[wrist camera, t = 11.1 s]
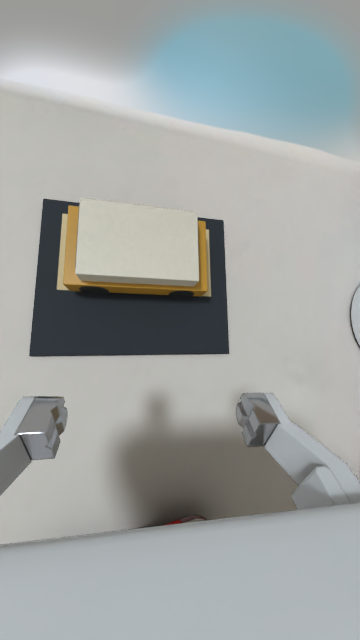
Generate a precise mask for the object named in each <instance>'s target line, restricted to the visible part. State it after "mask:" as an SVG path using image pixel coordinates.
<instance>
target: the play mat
mask: <svg viewBox="0 0 360 640" xmlns="http://www.w3.org/2000/svg"><path fill="white" fill-rule="evenodd" d="M79 204H80V203H74V202H66V201H58V200H49V199H43V210H42V221H41V232H40V243H39V254H38V265H37V277H36V288H35V299H34V310H33V321H32V332H31V343H30V355H29V356H76V355H154V354H229V342H228V319H227V296H226V273H225V249H224V226H223V220H215V219H206V218H198V221H205V223H206V255H207V288H208V291H207V292H206V293H205V294H204V295H202V296H201V297H199V296H190V297H183V298H179V297H172V296H169V295H153V294H130V293H106V294H91V293H86V292H82V291H70V290H69V289H68V288H67V287H65V286H64V285H63V276H64V261H65V247H66V233H67V219H68V206H69V205H70V206H79Z"/></svg>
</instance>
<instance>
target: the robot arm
mask: <svg viewBox="0 0 360 640" xmlns="http://www.w3.org/2000/svg"><path fill="white" fill-rule="evenodd" d="M351 321H352V327H353V331H354V334H355V337H356V340H357V342H358V344H359V346H360V286H359V287H358V289H357V290H356V292H355V295H354V297H353V301H352V306H351ZM240 399H241V402H240V403H238V404H237V407H236V417H237V421H238V424H239V425H240V426H241V427H243V431H242V435H243V437H244V440H245V443H246V445H247V447H258V446H264V448H265V449H266V450H267V451H268V452H269V453H270V455H271V456H272V457H273V458H274V459H275V460H276V461H277V462H278V463H279V464H280V466H281V467H282V468H283V469H284V470H285V471H286V472H287V473H288V474H289V475H290V477H291V478H292V479H293V480H294V481H295V482H296V483H297V484H298V485H299V486H298V487H297V488H296V489H295V490H294V491H293V493H292V495H291V496H292V499H293V501H294V503H295V505H296V508H297V510H292V511H283V512H275V513H266V514H258V515H249V516H240V517H232V518H223V519H215V520H206V521H198V522H189V523H181V524H172V525H163V526H155V527H146V528H138V529H129V530H121V531H112V532H104V533H95V534H87V535H78V536H69V537H61V538H52V539H44V540H35V541H27V542H18V543H10V544H1V545H0V640H360V482H359V480H358V479H357V477H356V476H355V475H354V473H353V472H352V470H351V469H350V467H349V466H348V465H347V463H345V462H344V461H343V460H341V459H340V458H339V457H338V456H336V455H335V454H334V453H332V452H331V451H330V450H329V449H327V448H326V447H325V446H323V445H322V444H321V443H319V442H318V441H317V440H316V439H314V438H313V437H312V436H310V435H309V434H308V433H307V432H305V431H304V430H303V429H301V428H300V427H299V426H298V425H296V424H295V423H291V421H290V420H289V418H288V416H287V415H286V413H285V411H284V410H283V408H282V406H281V405H280V403H279V401H278V399H277V398H276V396H275V395H274V394H273V393H243V394H242V395H241V397H240ZM64 403H65V400H64V397H37V396H36V397H22V398H21V399H20V400H19V402H18V403H17V405H16V407H15V408H14V410H13V412H12V413H11V415H10V417H9V418H8V420H7V422H6V423H5V425H4V427H3V428H2V430H1V432H0V495H1V494H2V493H3V492H4V491H5V490H6V489H7V488H8V487H9V486H10V485H11V484H12V482H13V481H14V480H15V479H16V478H17V477H18V476H19V475H20V474H21V473H22V472H23V470H24V469H25V468H26V467H27V466H28V465H29V464H30V463H31V460H42V459H53V458H55V456H56V453H57V450H58V447H59V445H60V438H59V435H60V434H61V433H63V432H64V430H65V427H66V423H67V417H68V414H67V408H66V407H64Z"/></svg>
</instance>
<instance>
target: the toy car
mask: <svg viewBox="0 0 360 640" xmlns="http://www.w3.org/2000/svg"><path fill="white" fill-rule="evenodd" d="M63 285H64V286H65V287H67V288H68V289H69V290H70V291H82V292H86V293H91V294H106V293H130V294H153V295H169V296H172V297H179V298H183V297H190V296H199V297H201V296H202V295H204V294H205V293H206V292H207V291H208V288H207V255H206V223H205V221H198V215H197V212H192V211H184V210H176V209H168V208H160V207H152V206H144V205H136V204H128V203H120V202H112V201H104V200H96V199H89V198H80V204H79V206H70V205H69V206H68V219H67V233H66V247H65V261H64V276H63Z"/></svg>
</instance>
